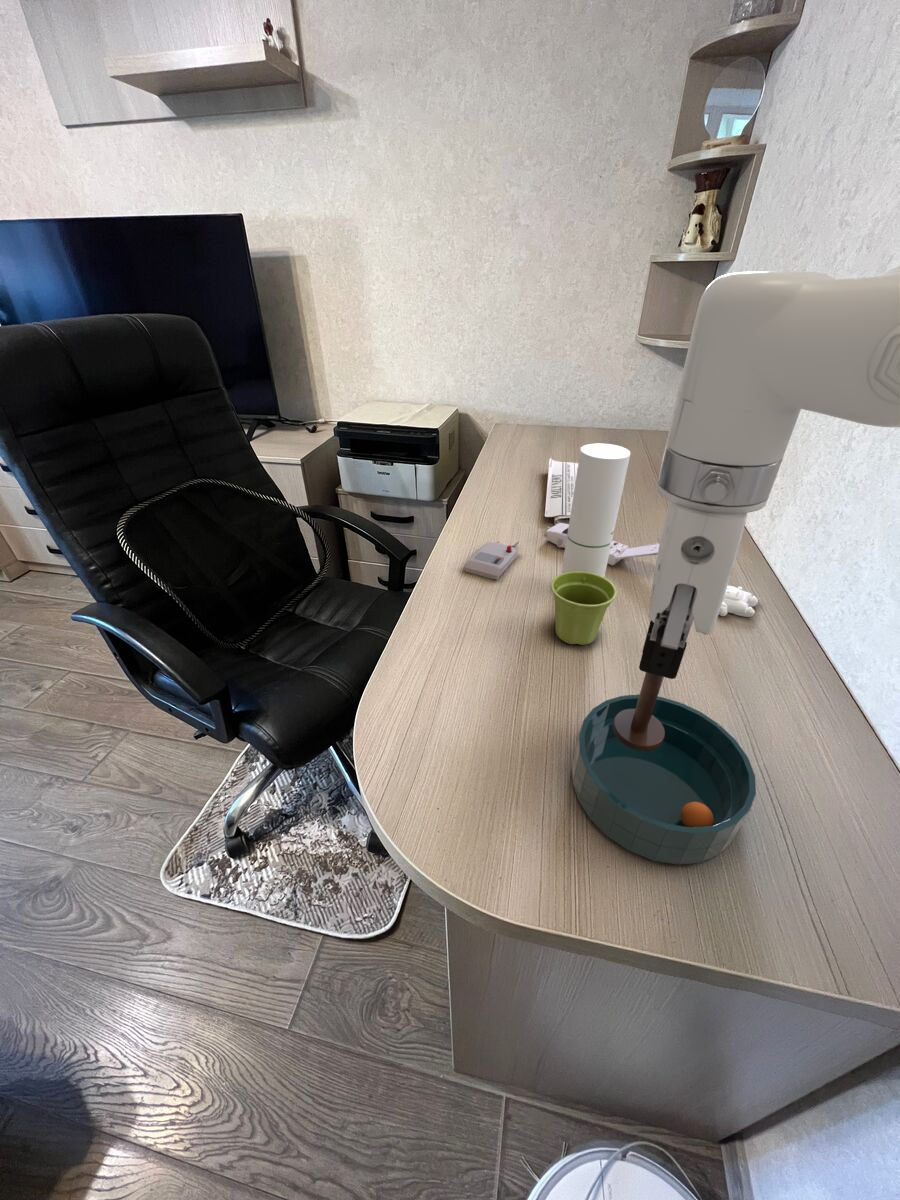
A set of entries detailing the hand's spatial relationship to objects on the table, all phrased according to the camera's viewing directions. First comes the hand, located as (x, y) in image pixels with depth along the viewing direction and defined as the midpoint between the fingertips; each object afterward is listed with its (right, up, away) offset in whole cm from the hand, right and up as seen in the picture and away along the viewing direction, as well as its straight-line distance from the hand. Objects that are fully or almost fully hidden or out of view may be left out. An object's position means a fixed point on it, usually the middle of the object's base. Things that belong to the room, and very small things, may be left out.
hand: (658, 664), depth 47 cm
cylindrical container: (+3, +7, +41) cm, 42 cm away
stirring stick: (0, -8, +5) cm, 9 cm away
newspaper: (+10, +31, +76) cm, 83 cm away
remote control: (-11, +13, +50) cm, 53 cm away
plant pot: (0, +1, +32) cm, 32 cm away
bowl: (+3, -15, +9) cm, 18 cm away
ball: (+5, -16, +4) cm, 17 cm away
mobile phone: (+10, +15, +53) cm, 56 cm away
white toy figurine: (+26, +5, +39) cm, 47 cm away
